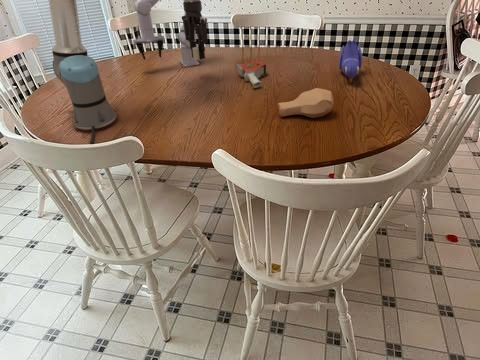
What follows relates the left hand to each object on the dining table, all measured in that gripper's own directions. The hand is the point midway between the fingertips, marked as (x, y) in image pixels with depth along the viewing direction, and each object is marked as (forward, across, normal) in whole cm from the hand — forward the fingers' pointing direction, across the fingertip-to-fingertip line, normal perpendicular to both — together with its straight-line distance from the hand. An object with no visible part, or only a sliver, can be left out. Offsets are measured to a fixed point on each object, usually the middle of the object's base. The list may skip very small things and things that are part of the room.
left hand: (198, 57), depth 160 cm
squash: (+9, -60, +5) cm, 61 cm away
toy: (+9, -56, -37) cm, 68 cm away
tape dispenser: (+9, -21, -12) cm, 26 cm away
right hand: (+3, +27, +6) cm, 27 cm away
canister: (0, 0, 0) cm, 0 cm away
